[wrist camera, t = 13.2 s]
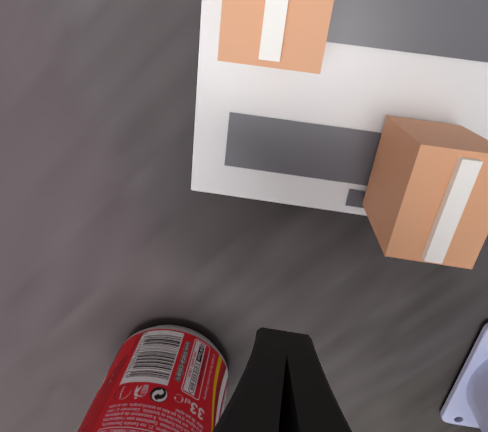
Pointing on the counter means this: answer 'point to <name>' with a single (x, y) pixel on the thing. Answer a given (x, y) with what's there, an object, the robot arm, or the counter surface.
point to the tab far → (429, 192)
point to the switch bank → (336, 100)
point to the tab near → (275, 33)
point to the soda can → (161, 385)
